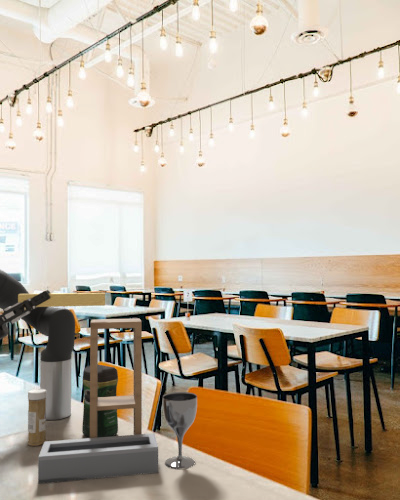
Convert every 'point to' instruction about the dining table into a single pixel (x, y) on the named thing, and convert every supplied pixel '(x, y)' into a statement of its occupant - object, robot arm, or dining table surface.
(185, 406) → the wine glass
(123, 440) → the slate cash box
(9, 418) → the dining table surface
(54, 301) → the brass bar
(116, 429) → the coffee jar
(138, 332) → the walnut stand
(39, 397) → the sprinkles bottle
